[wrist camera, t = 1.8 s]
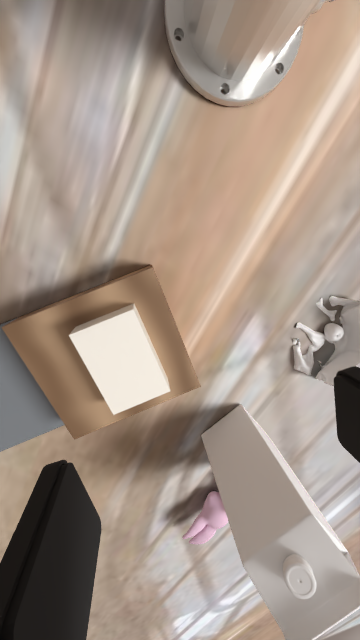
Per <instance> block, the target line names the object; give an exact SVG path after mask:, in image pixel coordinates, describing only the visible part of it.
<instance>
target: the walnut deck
mask: <svg viewBox="0 0 360 640" xmlns="http://www.w3.org/2000/svg"><path fill="white" fill-rule="evenodd" d="M133 303H134V304H135V306H136V309H137V311H138V313H139V315H140V318H141V320H142V322H143V324H144V327H145V329H146V331H147V333H148V335H149V338H150V340H151V342H152V344H153V347H154V349H155V351H156V353H157V356H158V358H159V360H160V362H161V365H162V367H163V369H164V371H165V374H166V376H167V378H168V382H169V387H170V392H167V393H165V394H163V395H160V396H158V397H155V398H153V399H151V400H148V401H146V402H143V403H141V404H139V405H136V406H134V407H132V408H129V409H127V410H124V411H122V412H120V413H117V414H115V415H113V413H112V412H111V410H110V408H109V406H108V404H107V403H106V401H105V399H104V397H103V396H102V394H101V392H100V390H99V388H98V387H97V385H96V383H95V381H94V379H93V378H92V376H91V374H90V372H89V371H88V369H87V367H86V365H85V363H84V362H83V360H82V358H81V356H80V355H79V353H78V351H77V349H76V347H75V346H74V344H73V342H72V340H71V339H70V337H69V334H70V333H71V332H72V331H73V329H74V328H75V327H76V326H79V325H81V324H84V323H86V322H89V321H91V320H94V319H96V318H99V317H101V316H104V315H106V314H109V313H111V312H114V311H116V310H119V309H121V308H123V307H126V306H128V305H131V304H133ZM1 328H2V329H3V331H4V332H5V334H6V335H7V337H8V338H9V340H10V341H11V343H12V344H13V346H14V348H15V349H16V351H17V352H18V354H19V355H20V357H21V358H22V360H23V361H24V363H25V364H26V366H27V368H28V369H29V371H30V372H31V374H32V375H33V377H34V378H35V380H36V381H37V383H38V384H39V386H40V387H41V389H42V391H43V392H44V394H45V395H46V397H47V398H48V400H49V401H50V403H51V404H52V406H53V407H54V409H55V411H56V412H57V414H58V415H59V417H60V418H61V420H62V421H63V423H64V424H65V426H66V427H67V429H68V430H69V432H70V434H71V435H72V437H73V438H74V439H77V438H79V437H81V436H84V435H86V434H89V433H91V432H93V431H96V430H98V429H101V428H103V427H105V426H108V425H110V424H112V423H115V422H117V421H120V420H122V419H124V418H127V417H129V416H132V415H134V414H136V413H139V412H141V411H143V410H146V409H148V408H151V407H153V406H155V405H158V404H160V403H162V402H165V401H167V400H170V399H172V398H174V397H177V396H179V395H182V394H184V393H186V392H189V391H191V390H193V389H196V388H198V387H201V386H200V383H199V381H198V378H197V376H196V373H195V371H194V368H193V366H192V363H191V361H190V358H189V356H188V353H187V351H186V348H185V346H184V343H183V341H182V338H181V336H180V333H179V331H178V328H177V326H176V323H175V321H174V318H173V316H172V313H171V311H170V308H169V306H168V303H167V301H166V298H165V296H164V293H163V291H162V288H161V286H160V283H159V281H158V278H157V276H156V273H155V271H154V268H153V267H152V265H149V266H147V267H144V268H142V269H139V270H137V271H134V272H132V273H129V274H127V275H124V276H122V277H119V278H116V279H114V280H111V281H109V282H106V283H104V284H101V285H99V286H96V287H94V288H91V289H89V290H86V291H84V292H81V293H79V294H76V295H74V296H71V297H68V298H66V299H63V300H61V301H58V302H56V303H53V304H51V305H48V306H46V307H43V308H41V309H38V310H36V311H33V312H31V313H28V314H26V315H23V316H21V317H19V318H17V319H15V320H14V321H12V322H10V323H8V324H7V325H5V326H3V327H1Z"/></svg>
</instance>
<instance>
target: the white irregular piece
mask: <svg viewBox="0 0 360 640" xmlns="http://www.w3.org/2000/svg"><path fill="white" fill-rule="evenodd" d="M329 301H330V303H331V306H336V305H343V306H344V307H343V309H342V311H341V312H340V314H341V316H340V317H339V319H340V323H341V324H342V323H343V327H341V326H339V325H337V324H335V323H328V324H327V325H326V326H325V328H324V334H323V333H320V332H316V331H313V330H312V329H310V328H308V327H307V326H305V325H303V324H301V323H300V322H299V323H297V326H296V328H300V329H302V330H303V331H304V332H305V333H307V335H308V337H309V339H310V340H311V341H312V343H313V346H311V345H310V346H309V349H308V352H307V354H306V355H302V354H301V350H300V342H299V341H298V344H297V345H294V346H293V350H294V370H298V371H301V372H303V373H305V374H307V375H309V376H311V369H312V367H313V365H314V357H313V352H315V351H317V350H318V349H319V348H320V347H321V346H322V345H323V344H324V339H326V340H327V341H329V342H330V343H332V344H333V343H334V344H335V348H336V349H335V351H334V353H333V355H332V356H331V357H330V359H329V360H328V361H327V362H326V364H325V365H324V366H322V365H319V366H320V367H321V368H322V369H321V371H320V372H319V373H318V374H317V376H316V377H315V379H318V380H322V381H324V383H326V384H329V385H332V386H334V377H336V374H337V372H338V371H340V370H343V369H346V368H350V367H353V366H356V365H357V364H359V363H360V301H355V300H351V299H345V298H338V297H335V296H333V295H332V296H331V297H330V298H329ZM316 305H317V306H318V307H319V309H321V310H322V311H323V312H324V313H325V314H327V315H328V316H329V317H330V320H331V321H334V320H335V314H336V312H337V310H333V311H330V310H327V309H326V308H325V307H324V306H323V298H321V299H320V301H319V302H317V303H316ZM297 340H299V339H297ZM297 340H296V339H295V338H293V344H295V343H296V342H297ZM318 362H320V364H321V363H322V362H321V361H319V360H318Z"/></svg>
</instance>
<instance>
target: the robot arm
mask: <svg viewBox="0 0 360 640" xmlns="http://www.w3.org/2000/svg"><path fill="white" fill-rule="evenodd" d="M328 1H329V2H331V1H334V0H165V10H164V17H165V27H166V34H167V38H168V42H169V46H170V50H171V52H172V55H173V57H174V59H175V62H176V64H177V66H178V68H179V69H180V71H181V73H182V74H183V76H184V77H185V79H186V80H187V81H188V82H189V83H190V85H191V86H192V87H193V88H194V89H195V90H196V91H197V92H199V93H200V94H201V95H203V96H204V97H205V98H207V99H209V100H211V101H213V102H215V103H217V104H221V105H225V106H244V105H248V104H252V103H254V102H256V101H258V100H260V99H262V98H264V97H265V96H266V95H268V94H269V93H270V92H271V91H272V90H274V88H275V87H276V86H277V85H278V84H279V83H280V82H281V80H282V79H283V78H284V76H285V75H286V74H287V72H288V71H289V69H290V68H291V66H292V64H293V62H294V59H295V57H296V55H297V53H298V50H299V46H300V43H301V40H302V35H303V29H304V23H305V21H306V20H307V19H308V17H309V16H310V15H311V14H313V13H316V12H317V11H318V10H319V9H320V8H321V7H322V5H323V3H326V2H328ZM178 40H179V41H178ZM221 92H223V93H224V94H222V93H221ZM334 393H335V408H336V422H337V436H338V439H339V441H340V443H341V445H342V446H343V447H344V448H345V449H346V450H347V451H348V452H349V453H350V454H351V455H352V456H353V457H354V458H355V459H356V460H357V461H358V462H359V463H360V368H359V367H356V366H353V367H350V368H346V369H343V370H340V371H338V372H337V374H336V377H334ZM100 536H101V521H100V517H99V515H98V513H97V511H96V509H95V507H94V505H93V503H92V501H91V499H90V497H89V495H88V493H87V491H86V489H85V487H84V485H83V483H82V481H81V479H80V477H79V475H78V473H77V471H76V469H75V467H74V465H73V464H72V463H67V461H66V460H61V461H58V462H54V463H51V464H48V465H46V466H44V468H43V469H42V471H41V474H40V476H39V478H38V480H37V483H36V485H35V487H34V489H33V492H32V494H31V496H30V498H29V501H28V503H27V505H26V507H25V510H24V512H23V514H22V516H21V519H20V521H19V523H18V525H17V528H16V530H15V532H14V534H13V536H12V538H11V540H10V543H9V545H8V547H7V549H6V552H5V554H4V556H3V558H2V561H1V563H0V640H86V636H87V629H88V622H89V615H90V608H91V600H92V593H93V586H94V579H95V572H96V565H97V557H98V550H99V543H100Z"/></svg>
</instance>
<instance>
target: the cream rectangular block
mask: <svg viewBox="0 0 360 640" xmlns="http://www.w3.org/2000/svg"><path fill="white" fill-rule="evenodd" d="M69 337H70V339H71V340H72V342H73V344H74V346H75V347H76V349H77V351H78V353H79V355H80V356H81V358H82V360H83V362H84V363H85V365H86V367H87V369H88V371H89V372H90V374H91V376H92V378H93V379H94V381H95V383H96V385H97V387H98V388H99V390H100V392H101V394H102V396H103V397H104V399H105V401H106V403H107V404H108V406H109V408H110V410H111V412H112V413H113V415H115V414H117V413H120V412H122V411H124V410H127V409H129V408H132V407H134V406H136V405H139V404H141V403H143V402H146V401H148V400H151V399H153V398H155V397H158V396H160V395H163V394H165V393H167V392H170V387H169V382H168V378H167V376H166V374H165V371H164V369H163V367H162V365H161V362H160V360H159V358H158V356H157V353H156V351H155V349H154V347H153V344H152V342H151V340H150V338H149V335H148V333H147V331H146V329H145V327H144V324H143V322H142V320H141V318H140V315H139V313H138V311H137V309H136V306H135V304H134V303H133V304H131V305H128V306H126V307H123V308H121V309H119V310H116V311H114V312H111V313H109V314H106V315H104V316H101V317H99V318H96V319H94V320H91V321H89V322H86V323H84V324H81V325H79V326H76V327H75V328H74V329H73V331H72V332H71V333H70V334H69Z"/></svg>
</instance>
